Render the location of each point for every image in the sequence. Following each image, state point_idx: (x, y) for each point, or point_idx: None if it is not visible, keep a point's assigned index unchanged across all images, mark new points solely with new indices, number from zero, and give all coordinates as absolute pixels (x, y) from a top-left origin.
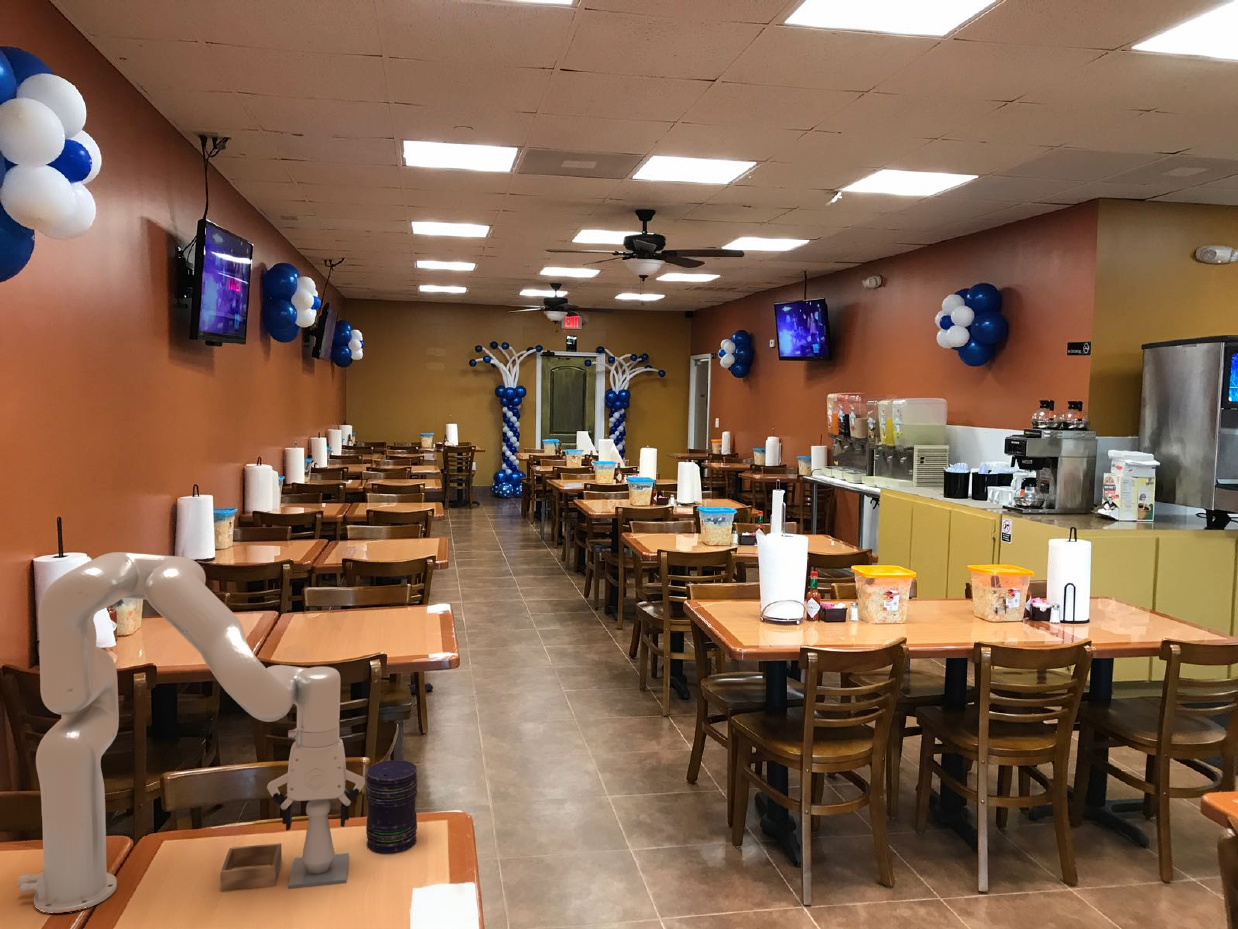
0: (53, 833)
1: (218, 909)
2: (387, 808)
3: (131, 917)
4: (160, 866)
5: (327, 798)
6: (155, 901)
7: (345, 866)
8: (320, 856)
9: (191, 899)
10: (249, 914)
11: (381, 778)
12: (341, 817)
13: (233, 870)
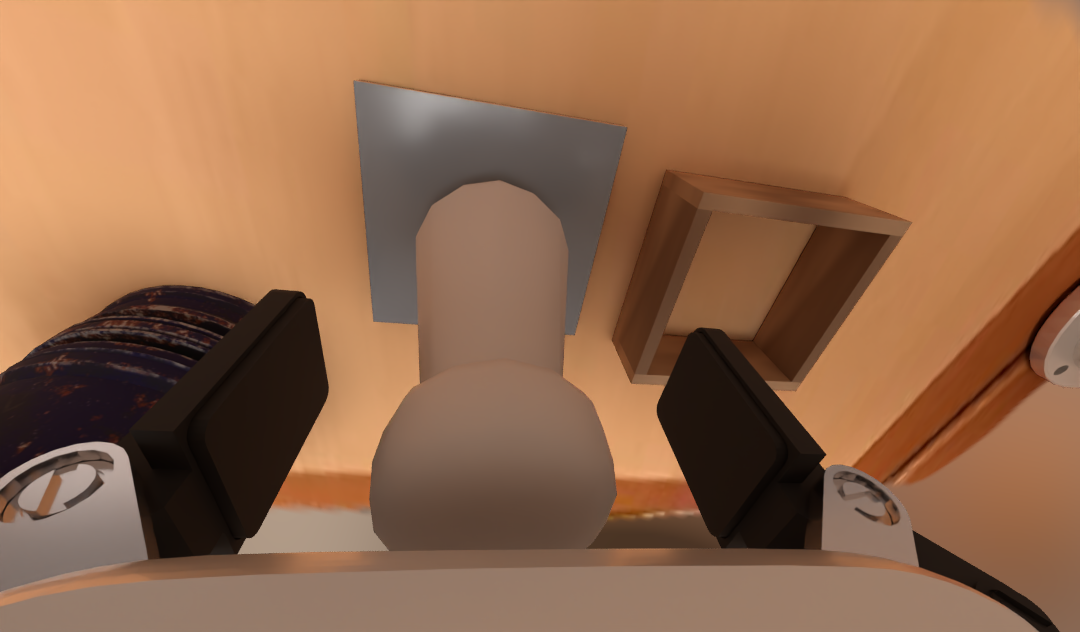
0: None
1: (916, 41)
2: None
3: None
4: (901, 387)
5: (291, 577)
6: (1029, 201)
7: (373, 218)
8: (481, 201)
9: (944, 173)
10: None
11: None
12: (263, 343)
13: (864, 222)
